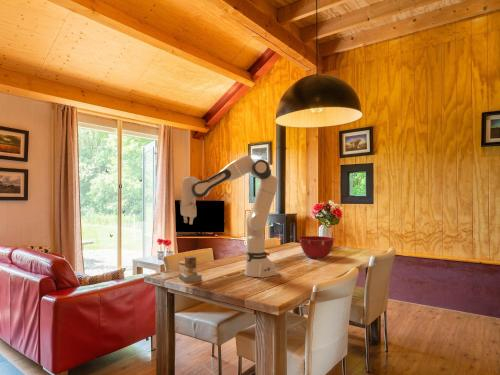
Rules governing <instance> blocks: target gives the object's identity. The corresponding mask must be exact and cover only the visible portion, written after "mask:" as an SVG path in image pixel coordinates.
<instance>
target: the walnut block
mask: <svg viewBox="0 0 500 375" xmlns="http://www.w3.org/2000/svg"><path fill="white" fill-rule="evenodd" d="M184 260H185V267H186V268H188V269H189V268H196V267H197V257H196V256H194V255H189V256H184Z"/></svg>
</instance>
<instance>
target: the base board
mask: <svg viewBox="0 0 500 375" xmlns="http://www.w3.org/2000/svg"><path fill="white" fill-rule="evenodd" d="M178 278H179V279H180V280H181V281H182V282H183V283H191V282H198V280H199V281H202V279H203V278H202V274H201V273H199V272H197V275H190V276H187V275H185V274H184V273H181V272H180V273H179V277H178Z"/></svg>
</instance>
